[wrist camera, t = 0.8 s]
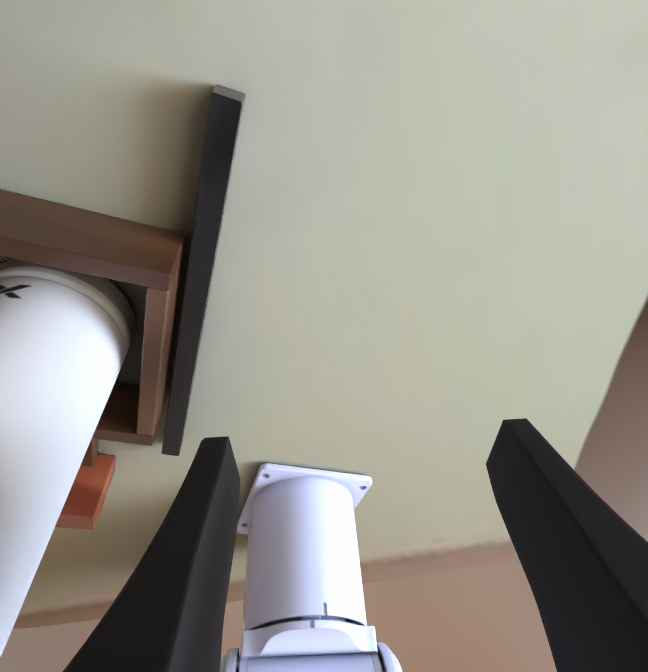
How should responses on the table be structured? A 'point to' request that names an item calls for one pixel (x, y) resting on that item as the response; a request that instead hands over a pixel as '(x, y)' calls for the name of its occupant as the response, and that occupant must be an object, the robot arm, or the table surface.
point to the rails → (202, 252)
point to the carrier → (160, 310)
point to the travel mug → (49, 403)
